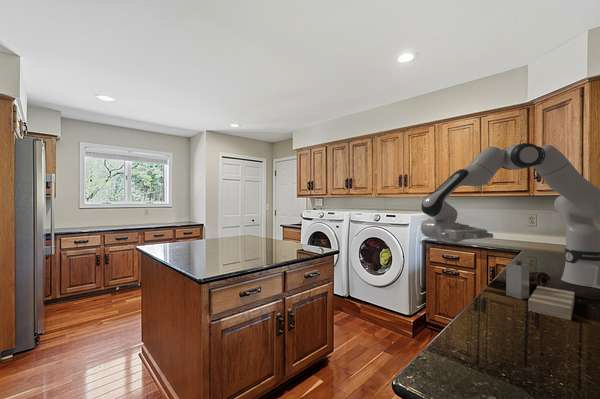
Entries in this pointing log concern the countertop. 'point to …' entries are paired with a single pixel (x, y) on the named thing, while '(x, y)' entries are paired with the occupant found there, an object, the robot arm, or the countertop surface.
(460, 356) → the countertop surface
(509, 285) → the aluminium block
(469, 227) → the robot arm
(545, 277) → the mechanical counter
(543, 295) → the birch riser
